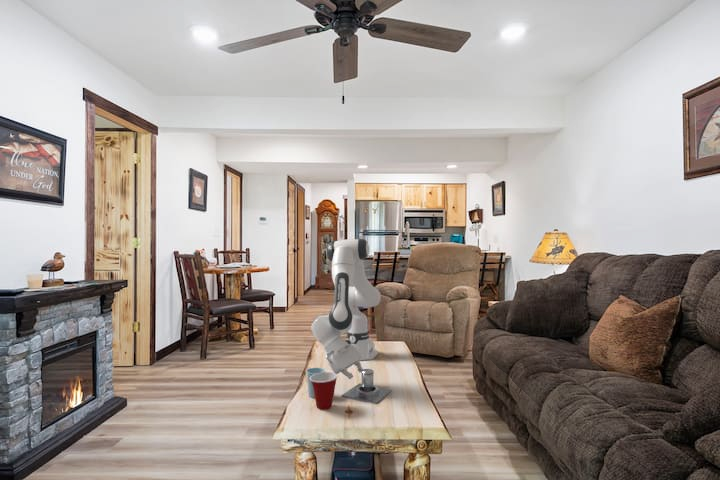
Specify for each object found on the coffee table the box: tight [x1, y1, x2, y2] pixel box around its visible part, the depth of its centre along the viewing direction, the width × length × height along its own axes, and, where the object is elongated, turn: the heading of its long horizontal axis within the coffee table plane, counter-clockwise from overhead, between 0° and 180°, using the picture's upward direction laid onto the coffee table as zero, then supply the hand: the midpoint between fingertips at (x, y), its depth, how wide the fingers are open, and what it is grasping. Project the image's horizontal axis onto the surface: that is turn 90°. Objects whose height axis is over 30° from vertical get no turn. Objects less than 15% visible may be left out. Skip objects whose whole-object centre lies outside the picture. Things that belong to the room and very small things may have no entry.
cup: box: [305, 367, 326, 399], centre depth 166 cm, size 8×8×10 cm
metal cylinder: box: [360, 368, 375, 392], centre depth 169 cm, size 5×5×9 cm
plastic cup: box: [310, 371, 339, 411], centre depth 155 cm, size 11×11×12 cm
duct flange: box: [341, 383, 393, 405], centre depth 169 cm, size 16×16×2 cm
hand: (356, 374), depth 172 cm, fingers open, 8 cm apart
